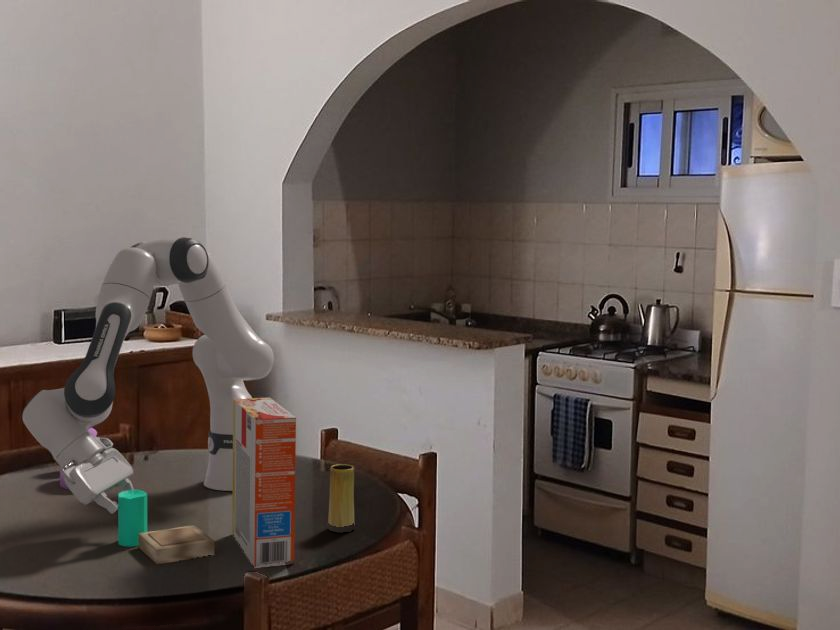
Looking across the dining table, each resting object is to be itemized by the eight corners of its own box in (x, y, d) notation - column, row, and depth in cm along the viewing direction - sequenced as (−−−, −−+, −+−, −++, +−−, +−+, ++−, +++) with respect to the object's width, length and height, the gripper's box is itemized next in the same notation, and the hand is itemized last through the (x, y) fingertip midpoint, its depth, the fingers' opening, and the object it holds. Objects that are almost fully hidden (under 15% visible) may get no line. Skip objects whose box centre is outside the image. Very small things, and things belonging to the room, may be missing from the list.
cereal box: (294, 564, 204) (296, 417, 201) (254, 568, 201) (255, 419, 198) (268, 531, 225) (269, 397, 222) (232, 534, 222) (233, 399, 219)
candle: (121, 537, 218) (121, 482, 217) (149, 537, 218) (149, 482, 217) (115, 546, 212) (115, 490, 211) (144, 546, 212) (144, 490, 211)
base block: (193, 538, 218) (194, 524, 218) (214, 554, 208) (214, 539, 208) (138, 547, 212) (138, 532, 212) (156, 564, 202) (156, 548, 201)
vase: (358, 527, 229) (360, 465, 228) (348, 535, 223) (349, 471, 222) (334, 524, 231) (335, 462, 230) (323, 531, 225) (324, 468, 224)
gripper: (68, 457, 204) (114, 508, 204) (112, 436, 224) (154, 483, 224) (47, 478, 205) (93, 528, 205) (93, 455, 225) (135, 501, 225)
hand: (125, 504), depth 215 cm, fingers open, 8 cm apart
